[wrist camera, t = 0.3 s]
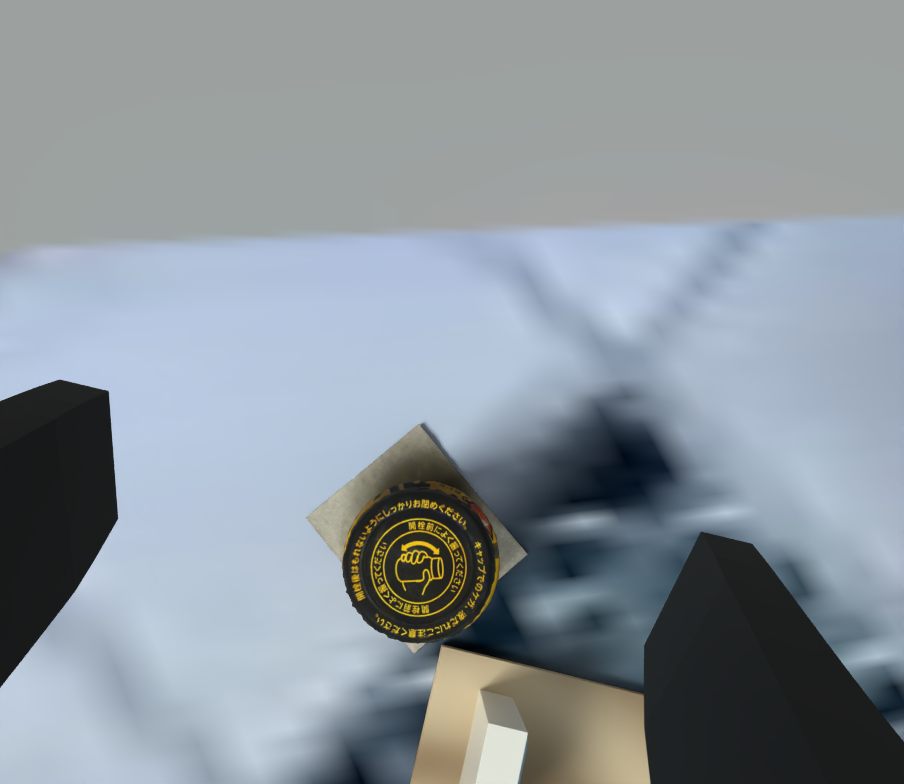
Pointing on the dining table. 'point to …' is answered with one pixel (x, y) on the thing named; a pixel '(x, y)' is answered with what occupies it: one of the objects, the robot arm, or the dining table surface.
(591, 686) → the mat
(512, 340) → the dining table surface
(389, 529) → the condiment
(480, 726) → the block
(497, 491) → the dining table surface
